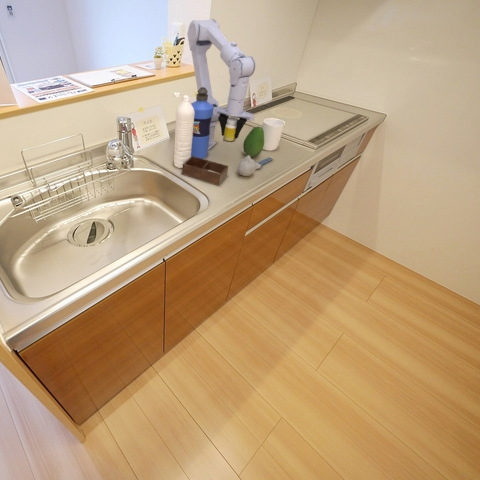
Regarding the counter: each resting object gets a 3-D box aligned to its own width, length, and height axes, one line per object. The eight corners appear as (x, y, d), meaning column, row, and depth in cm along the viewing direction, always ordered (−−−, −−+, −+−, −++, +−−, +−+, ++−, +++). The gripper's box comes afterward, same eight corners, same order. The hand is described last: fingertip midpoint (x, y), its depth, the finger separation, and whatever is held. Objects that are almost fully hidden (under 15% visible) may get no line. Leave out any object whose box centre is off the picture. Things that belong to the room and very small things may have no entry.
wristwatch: (234, 172, 104) (234, 170, 103) (267, 157, 112) (267, 155, 112) (243, 177, 101) (243, 174, 100) (275, 161, 110) (276, 159, 109)
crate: (182, 174, 103) (182, 164, 100) (191, 165, 108) (192, 155, 105) (218, 185, 97) (220, 175, 94) (226, 175, 102) (228, 165, 99)
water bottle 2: (195, 147, 120) (201, 83, 102) (212, 154, 115) (221, 88, 98) (180, 153, 115) (184, 87, 98) (197, 161, 110) (204, 93, 93)
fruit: (237, 156, 113) (243, 127, 105) (245, 150, 117) (252, 121, 109) (255, 162, 109) (263, 132, 101) (263, 155, 114) (271, 126, 106)
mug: (285, 145, 121) (293, 120, 114) (269, 153, 115) (277, 127, 108) (268, 138, 126) (275, 114, 118) (253, 146, 120) (259, 121, 113)
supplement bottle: (234, 144, 104) (239, 122, 99) (222, 143, 105) (226, 121, 99) (235, 139, 108) (239, 117, 102) (223, 138, 109) (226, 116, 103)
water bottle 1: (193, 164, 108) (200, 96, 91) (182, 170, 105) (186, 100, 88) (177, 157, 113) (180, 90, 95) (166, 162, 109) (167, 94, 92)
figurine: (257, 178, 101) (264, 159, 95) (240, 180, 100) (246, 161, 94) (249, 168, 105) (256, 149, 99) (232, 169, 104) (238, 151, 98)
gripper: (260, 98, 95) (251, 136, 105) (221, 92, 101) (216, 128, 110) (254, 104, 91) (245, 143, 100) (214, 96, 97) (209, 134, 106)
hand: (229, 136), depth 105 cm, fingers closed on supplement bottle, 5 cm apart
